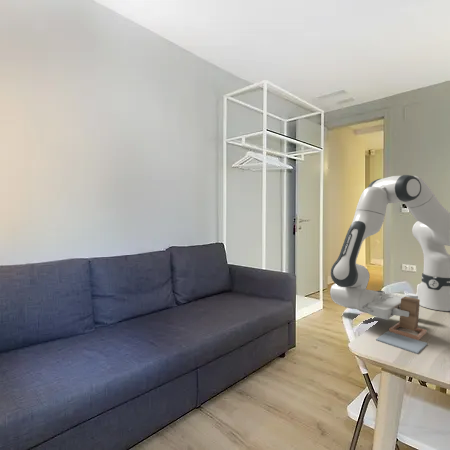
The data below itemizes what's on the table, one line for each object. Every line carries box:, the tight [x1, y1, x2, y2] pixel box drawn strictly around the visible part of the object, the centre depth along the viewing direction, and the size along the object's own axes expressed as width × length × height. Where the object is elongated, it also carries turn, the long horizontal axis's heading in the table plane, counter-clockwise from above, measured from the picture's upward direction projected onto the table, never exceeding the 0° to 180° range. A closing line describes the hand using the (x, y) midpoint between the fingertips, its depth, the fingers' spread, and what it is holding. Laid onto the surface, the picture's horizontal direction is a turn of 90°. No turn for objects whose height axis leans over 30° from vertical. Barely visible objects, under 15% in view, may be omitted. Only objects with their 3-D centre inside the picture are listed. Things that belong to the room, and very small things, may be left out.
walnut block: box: [398, 296, 420, 331], centre depth 108 cm, size 4×4×10 cm
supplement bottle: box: [405, 292, 420, 319], centre depth 122 cm, size 5×5×10 cm
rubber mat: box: [375, 330, 428, 355], centre depth 100 cm, size 10×12×1 cm
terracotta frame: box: [388, 321, 427, 341], centre depth 109 cm, size 9×9×1 cm
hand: (412, 312), depth 108 cm, fingers closed on walnut block, 4 cm apart
